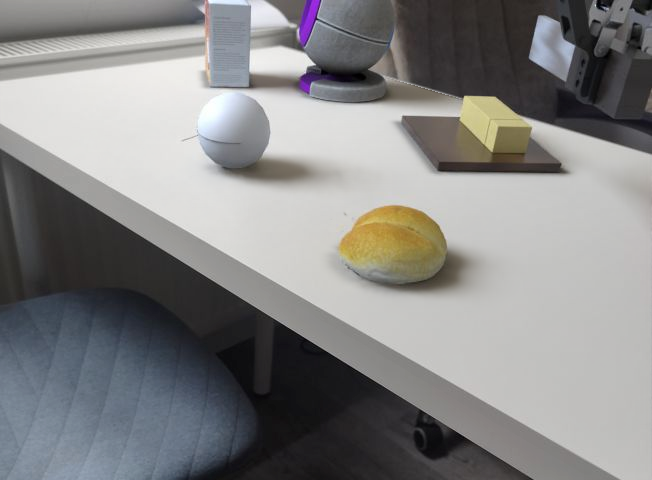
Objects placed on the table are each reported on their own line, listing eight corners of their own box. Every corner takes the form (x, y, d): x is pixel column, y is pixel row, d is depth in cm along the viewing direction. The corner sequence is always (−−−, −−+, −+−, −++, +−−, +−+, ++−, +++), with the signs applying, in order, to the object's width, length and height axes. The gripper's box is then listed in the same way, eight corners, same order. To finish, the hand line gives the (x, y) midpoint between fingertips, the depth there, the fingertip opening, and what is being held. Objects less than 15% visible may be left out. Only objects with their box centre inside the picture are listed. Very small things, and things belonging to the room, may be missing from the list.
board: (506, 125, 89) (508, 117, 89) (559, 172, 76) (562, 163, 76) (400, 123, 87) (402, 115, 87) (437, 170, 74) (439, 161, 74)
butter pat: (517, 146, 80) (524, 119, 78) (525, 153, 78) (532, 126, 76) (484, 145, 79) (490, 119, 77) (492, 152, 77) (498, 126, 76)
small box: (205, 71, 101) (204, -9, 95) (243, 72, 102) (244, -7, 96) (208, 87, 95) (207, 2, 89) (249, 88, 96) (251, 4, 90)
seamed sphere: (246, 149, 76) (247, 80, 72) (282, 173, 71) (286, 99, 67) (161, 163, 71) (157, 89, 67) (193, 189, 66) (191, 111, 62)
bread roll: (326, 273, 54) (330, 227, 52) (361, 230, 61) (367, 187, 59) (428, 299, 52) (438, 252, 50) (453, 251, 59) (463, 207, 57)
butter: (489, 121, 87) (495, 96, 85) (517, 145, 80) (523, 119, 78) (459, 120, 87) (464, 95, 85) (484, 145, 79) (489, 118, 78)
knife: (641, 119, 55) (662, 59, 52) (613, 119, 55) (632, 58, 52) (543, 58, 70) (554, 10, 68) (520, 58, 70) (531, 9, 67)
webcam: (293, 74, 103) (300, -41, 95) (378, 79, 104) (392, -34, 96) (298, 99, 93) (305, -27, 84) (392, 104, 94) (409, -20, 85)
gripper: (609, -157, 44) (541, 115, 55) (803, -144, 46) (702, 116, 56) (559, -158, 50) (506, 88, 61) (732, -146, 52) (653, 90, 62)
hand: (601, 100), depth 58 cm, fingers closed on knife, 2 cm apart
